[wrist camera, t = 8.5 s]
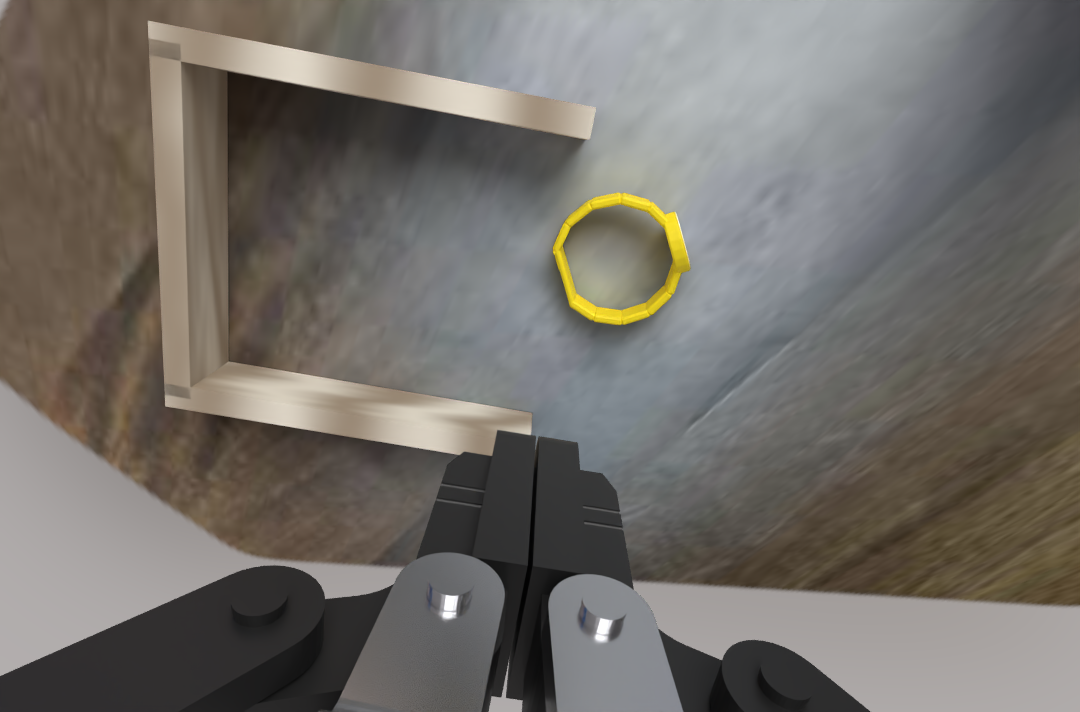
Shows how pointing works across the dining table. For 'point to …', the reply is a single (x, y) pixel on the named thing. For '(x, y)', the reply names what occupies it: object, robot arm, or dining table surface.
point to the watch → (661, 296)
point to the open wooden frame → (202, 239)
